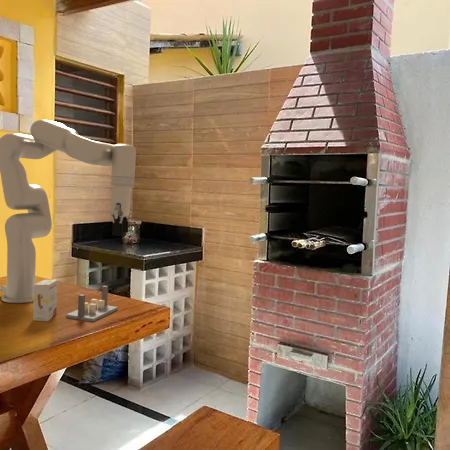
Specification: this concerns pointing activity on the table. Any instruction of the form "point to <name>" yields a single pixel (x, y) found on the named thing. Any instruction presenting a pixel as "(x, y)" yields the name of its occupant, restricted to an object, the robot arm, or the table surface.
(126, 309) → the table surface
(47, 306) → the ink box
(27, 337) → the table surface
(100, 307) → the peg stand
